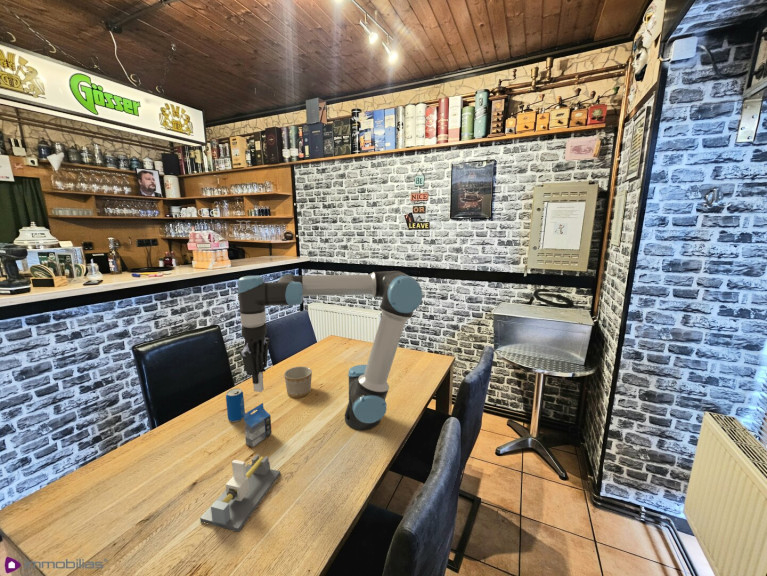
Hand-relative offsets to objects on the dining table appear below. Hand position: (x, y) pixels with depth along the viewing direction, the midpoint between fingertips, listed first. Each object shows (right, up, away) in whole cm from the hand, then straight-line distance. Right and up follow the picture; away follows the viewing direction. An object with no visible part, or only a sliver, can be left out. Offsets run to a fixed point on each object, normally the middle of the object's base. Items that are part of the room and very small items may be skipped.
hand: (258, 390), depth 106 cm
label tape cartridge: (-5, -23, +12) cm, 26 cm away
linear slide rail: (0, -28, -12) cm, 30 cm away
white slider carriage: (0, -25, -15) cm, 29 cm away
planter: (+1, -16, +45) cm, 48 cm away
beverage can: (-19, -20, +25) cm, 37 cm away
